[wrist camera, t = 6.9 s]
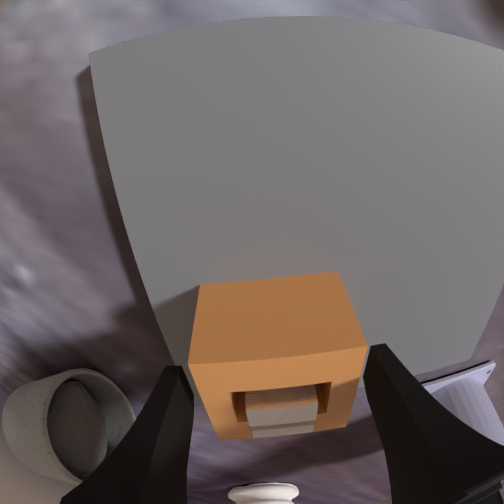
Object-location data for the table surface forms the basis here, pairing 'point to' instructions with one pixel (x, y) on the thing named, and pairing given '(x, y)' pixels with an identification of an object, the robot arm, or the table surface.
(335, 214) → the board
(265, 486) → the cherub figurine
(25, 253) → the table surface
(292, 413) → the grey cubby insert
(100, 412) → the ceramic mug
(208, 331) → the orange cubby crate
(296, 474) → the table surface
